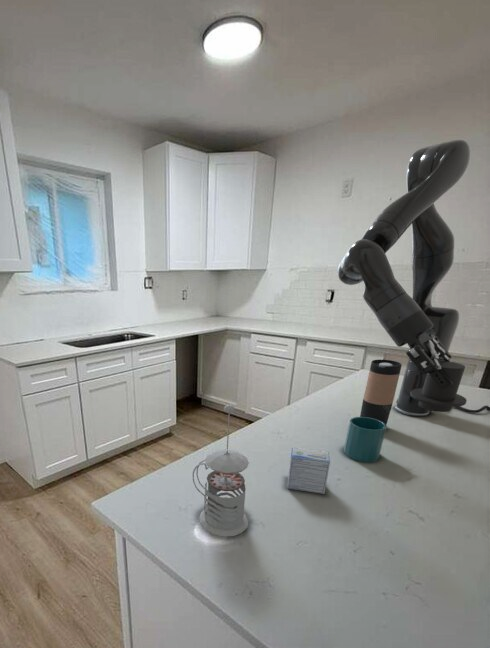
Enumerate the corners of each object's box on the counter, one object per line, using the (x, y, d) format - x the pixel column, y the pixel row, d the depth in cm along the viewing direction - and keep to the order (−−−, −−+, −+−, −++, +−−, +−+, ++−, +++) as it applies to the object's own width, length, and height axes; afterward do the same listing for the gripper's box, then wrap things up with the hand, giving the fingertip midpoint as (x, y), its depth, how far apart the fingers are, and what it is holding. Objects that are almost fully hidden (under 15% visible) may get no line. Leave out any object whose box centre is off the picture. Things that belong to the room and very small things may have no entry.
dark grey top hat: (437, 397, 85) (449, 357, 81) (475, 414, 76) (491, 370, 72) (397, 399, 84) (408, 359, 80) (430, 417, 75) (444, 372, 71)
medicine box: (323, 484, 83) (329, 451, 80) (324, 495, 79) (330, 461, 76) (287, 478, 86) (291, 446, 82) (286, 489, 82) (291, 455, 78)
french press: (237, 543, 67) (246, 420, 57) (182, 522, 72) (182, 407, 62) (255, 513, 74) (266, 400, 64) (204, 496, 80) (207, 390, 70)
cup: (365, 445, 99) (372, 415, 96) (385, 460, 92) (393, 429, 88) (337, 447, 99) (343, 417, 95) (355, 463, 91) (362, 431, 87)
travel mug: (379, 421, 113) (394, 359, 105) (390, 432, 106) (407, 366, 98) (353, 421, 114) (366, 359, 106) (363, 431, 107) (378, 366, 99)
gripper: (408, 312, 72) (463, 381, 69) (430, 305, 81) (479, 366, 78) (374, 335, 78) (423, 400, 75) (398, 326, 87) (442, 384, 83)
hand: (451, 383), depth 76 cm, fingers closed on dark grey top hat, 6 cm apart
